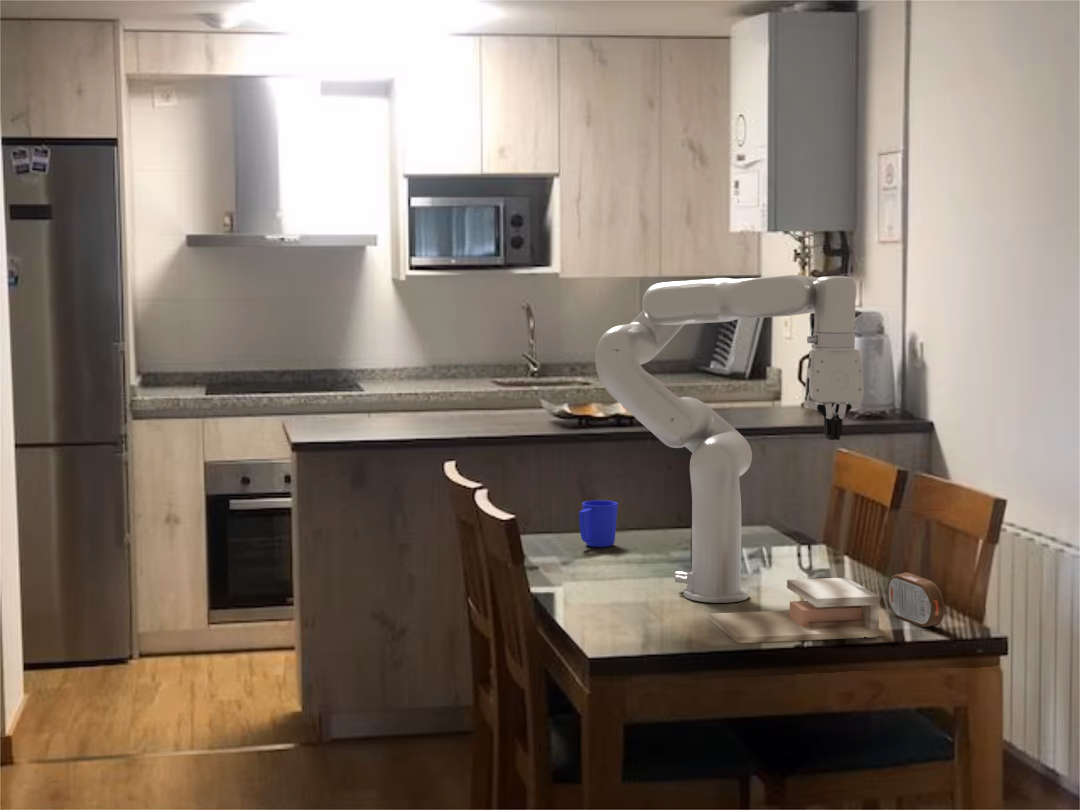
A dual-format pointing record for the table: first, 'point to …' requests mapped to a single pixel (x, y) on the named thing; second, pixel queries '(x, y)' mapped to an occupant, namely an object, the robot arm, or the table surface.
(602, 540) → the mug
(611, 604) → the table surface
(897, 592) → the tin
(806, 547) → the table surface
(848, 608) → the peach pink brick
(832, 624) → the shelf
